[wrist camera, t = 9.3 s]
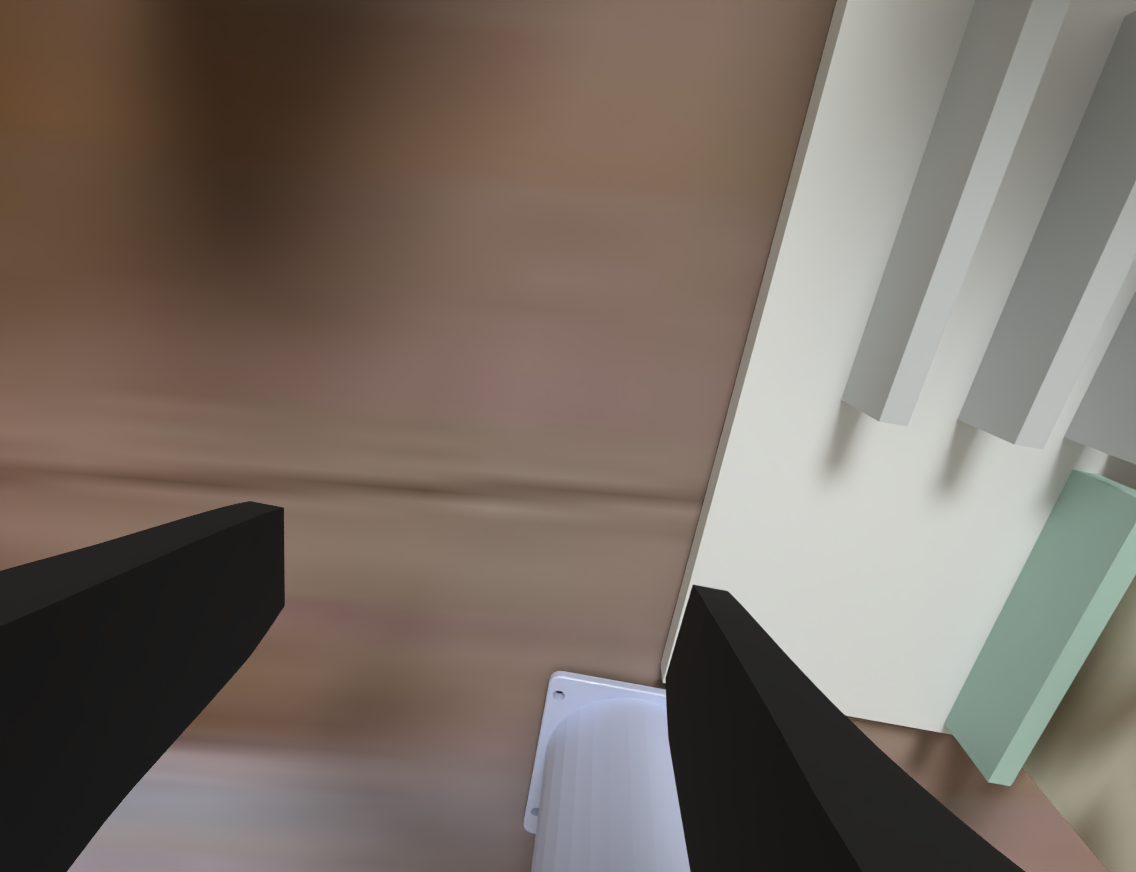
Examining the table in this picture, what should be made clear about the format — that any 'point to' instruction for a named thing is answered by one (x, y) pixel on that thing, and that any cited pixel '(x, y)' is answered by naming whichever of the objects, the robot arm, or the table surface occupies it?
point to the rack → (943, 372)
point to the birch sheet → (1097, 745)
